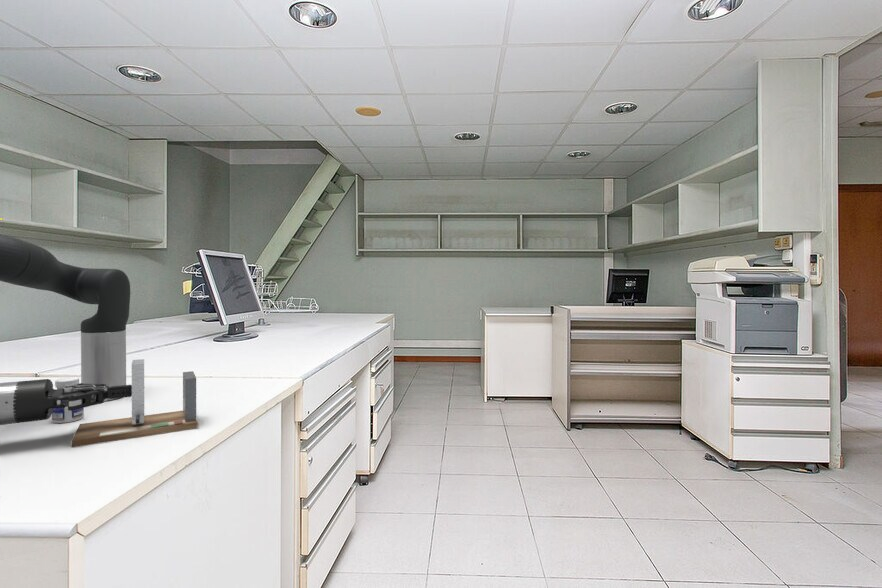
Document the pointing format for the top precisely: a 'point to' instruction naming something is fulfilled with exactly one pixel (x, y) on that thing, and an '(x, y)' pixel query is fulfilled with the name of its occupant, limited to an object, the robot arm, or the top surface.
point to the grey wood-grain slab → (189, 396)
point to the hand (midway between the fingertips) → (132, 390)
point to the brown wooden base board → (130, 428)
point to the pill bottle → (67, 415)
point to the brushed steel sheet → (138, 391)
